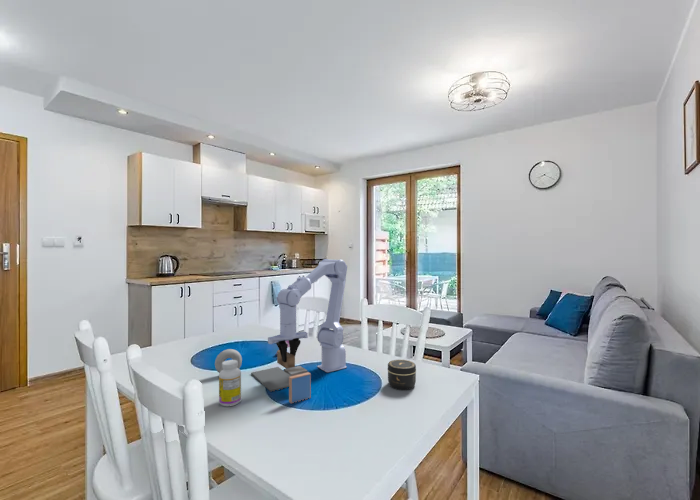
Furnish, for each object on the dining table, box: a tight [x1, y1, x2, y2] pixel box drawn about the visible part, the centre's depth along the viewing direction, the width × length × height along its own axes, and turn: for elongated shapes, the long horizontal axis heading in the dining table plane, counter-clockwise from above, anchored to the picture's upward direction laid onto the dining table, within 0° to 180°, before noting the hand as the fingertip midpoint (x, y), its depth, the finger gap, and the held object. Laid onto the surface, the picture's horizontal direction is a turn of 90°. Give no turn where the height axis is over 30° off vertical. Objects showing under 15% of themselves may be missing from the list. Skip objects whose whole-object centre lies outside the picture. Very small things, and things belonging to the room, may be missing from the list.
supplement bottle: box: [218, 359, 242, 407], centre depth 110 cm, size 7×7×13 cm
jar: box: [387, 359, 417, 391], centre depth 123 cm, size 10×10×8 cm
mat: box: [251, 366, 290, 392], centre depth 129 cm, size 11×20×1 cm, turn 34°
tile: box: [288, 371, 312, 404], centre depth 111 cm, size 7×2×8 cm, turn 125°
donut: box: [214, 348, 243, 374], centre depth 133 cm, size 10×4×10 cm, turn 119°
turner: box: [276, 349, 309, 376], centre depth 123 cm, size 16×6×4 cm, turn 35°
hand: (288, 360), depth 123 cm, fingers closed on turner, 2 cm apart
